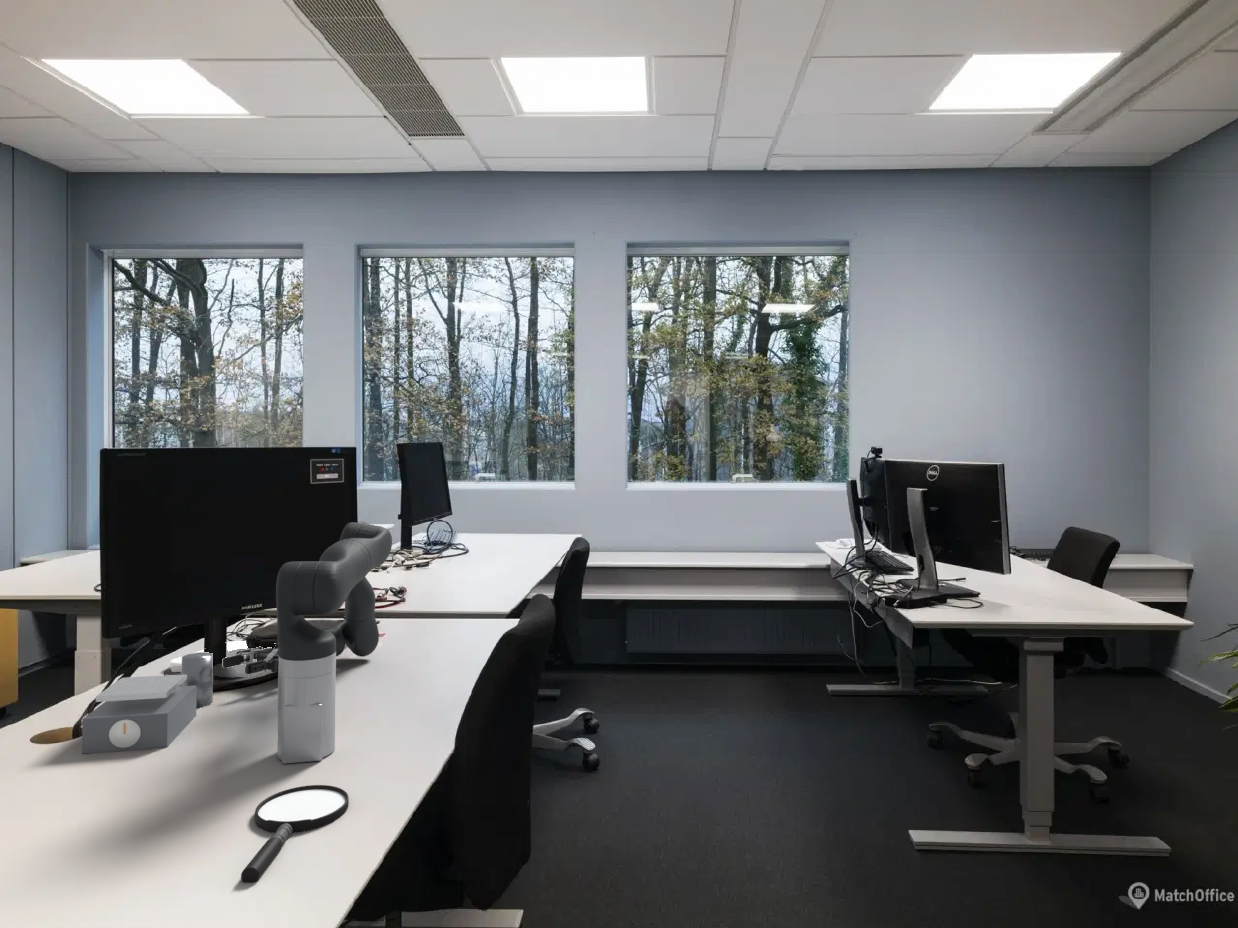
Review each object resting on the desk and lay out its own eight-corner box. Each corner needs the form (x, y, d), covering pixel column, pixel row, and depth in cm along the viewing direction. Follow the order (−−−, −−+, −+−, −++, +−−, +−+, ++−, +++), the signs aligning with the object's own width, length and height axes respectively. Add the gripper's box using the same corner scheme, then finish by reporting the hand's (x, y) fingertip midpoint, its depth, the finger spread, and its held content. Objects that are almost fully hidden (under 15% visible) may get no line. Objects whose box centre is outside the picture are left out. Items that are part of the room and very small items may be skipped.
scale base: (166, 748, 127) (166, 714, 127) (80, 754, 123) (81, 719, 123) (196, 715, 143) (196, 685, 143) (121, 720, 139) (121, 689, 139)
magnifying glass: (195, 886, 87) (196, 868, 87) (275, 797, 111) (275, 783, 111) (302, 884, 88) (302, 866, 88) (358, 795, 112) (359, 781, 112)
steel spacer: (208, 707, 147) (208, 658, 147) (177, 709, 146) (177, 660, 146) (216, 698, 153) (216, 651, 153) (186, 700, 151) (187, 652, 151)
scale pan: (166, 697, 129) (166, 692, 129) (95, 701, 126) (96, 696, 126) (186, 679, 140) (186, 674, 140) (122, 682, 137) (122, 677, 137)
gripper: (282, 630, 174) (215, 644, 160) (320, 638, 166) (254, 653, 152) (282, 661, 174) (215, 678, 160) (320, 671, 166) (253, 689, 152)
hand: (234, 666), depth 156 cm, fingers open, 8 cm apart
